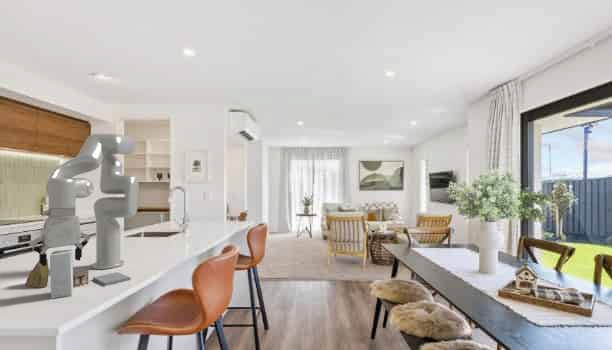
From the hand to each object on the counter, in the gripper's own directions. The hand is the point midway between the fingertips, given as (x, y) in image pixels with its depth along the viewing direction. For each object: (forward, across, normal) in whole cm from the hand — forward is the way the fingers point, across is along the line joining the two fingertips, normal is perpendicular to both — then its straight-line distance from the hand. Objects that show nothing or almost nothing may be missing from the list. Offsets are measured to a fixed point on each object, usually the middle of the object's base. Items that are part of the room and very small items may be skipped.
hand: (61, 262), depth 111 cm
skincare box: (+11, 0, 0) cm, 11 cm away
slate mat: (+11, +18, +4) cm, 21 cm away
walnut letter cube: (+11, +8, +8) cm, 15 cm away
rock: (+11, -2, +20) cm, 23 cm away
